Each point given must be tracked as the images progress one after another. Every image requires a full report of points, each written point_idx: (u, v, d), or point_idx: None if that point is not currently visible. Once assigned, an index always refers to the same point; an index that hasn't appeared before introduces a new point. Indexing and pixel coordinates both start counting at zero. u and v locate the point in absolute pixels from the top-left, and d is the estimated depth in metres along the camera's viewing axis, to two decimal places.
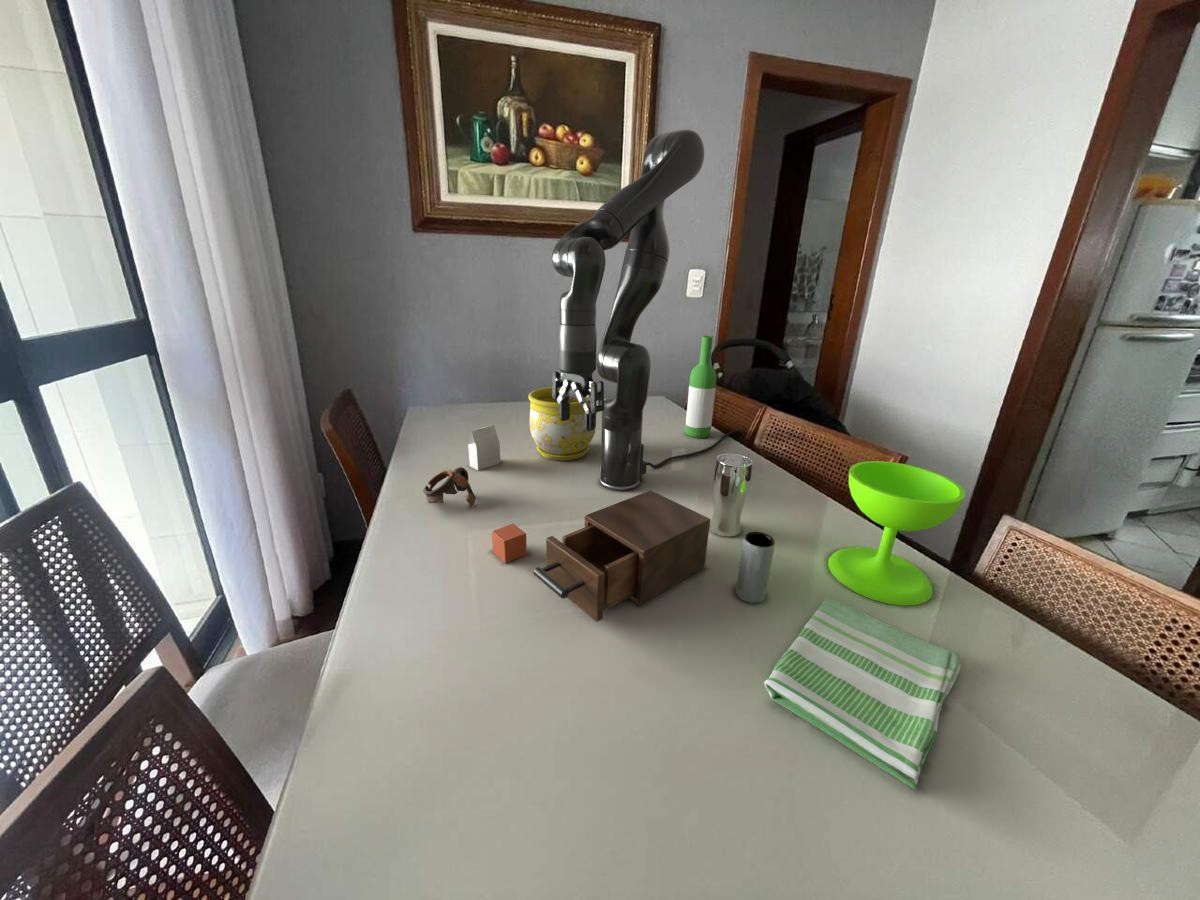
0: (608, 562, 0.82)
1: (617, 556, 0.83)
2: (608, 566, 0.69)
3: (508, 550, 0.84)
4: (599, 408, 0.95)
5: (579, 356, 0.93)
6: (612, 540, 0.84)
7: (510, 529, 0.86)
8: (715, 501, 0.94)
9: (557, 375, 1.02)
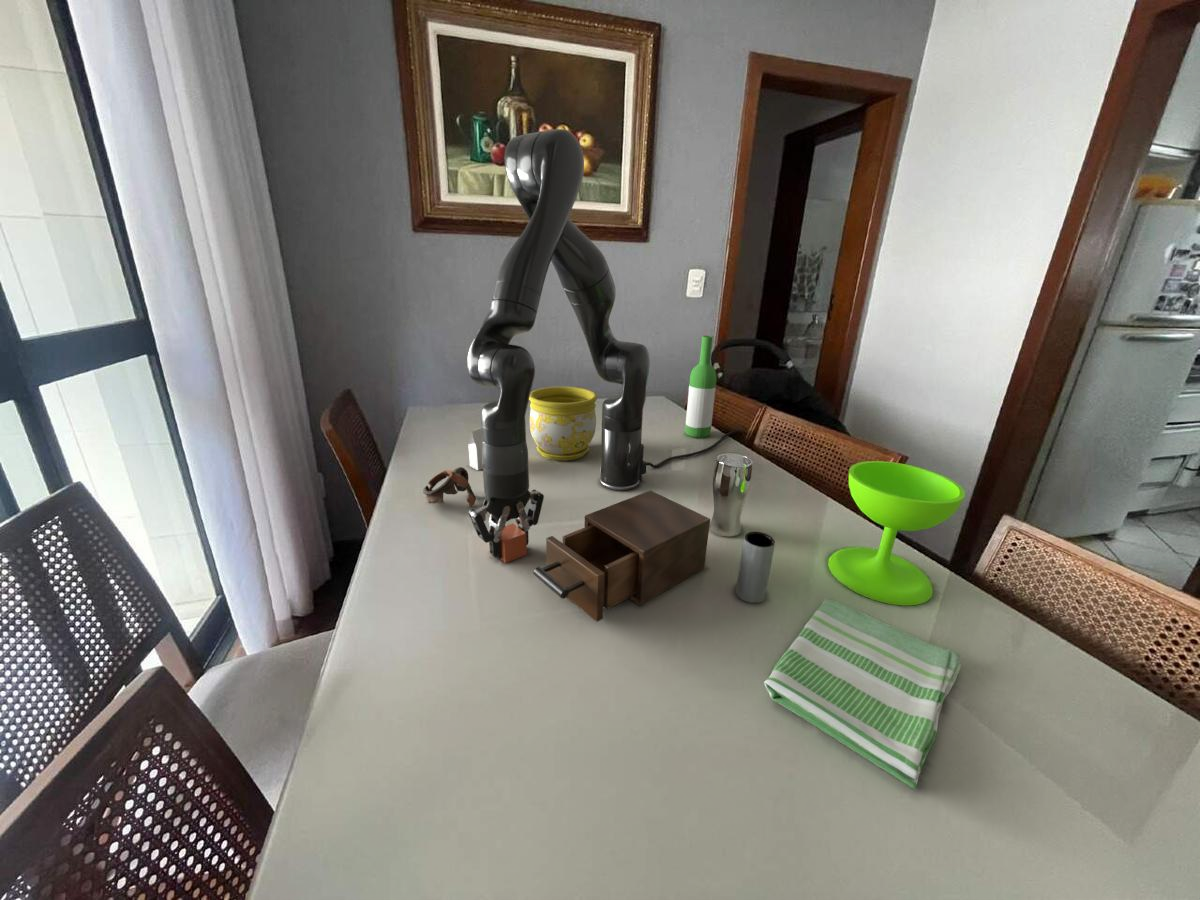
0: (608, 562, 0.82)
1: (617, 556, 0.83)
2: (608, 566, 0.69)
3: (508, 550, 0.84)
4: (481, 537, 0.82)
5: None
6: (612, 540, 0.84)
7: (510, 529, 0.86)
8: (715, 501, 0.94)
9: None
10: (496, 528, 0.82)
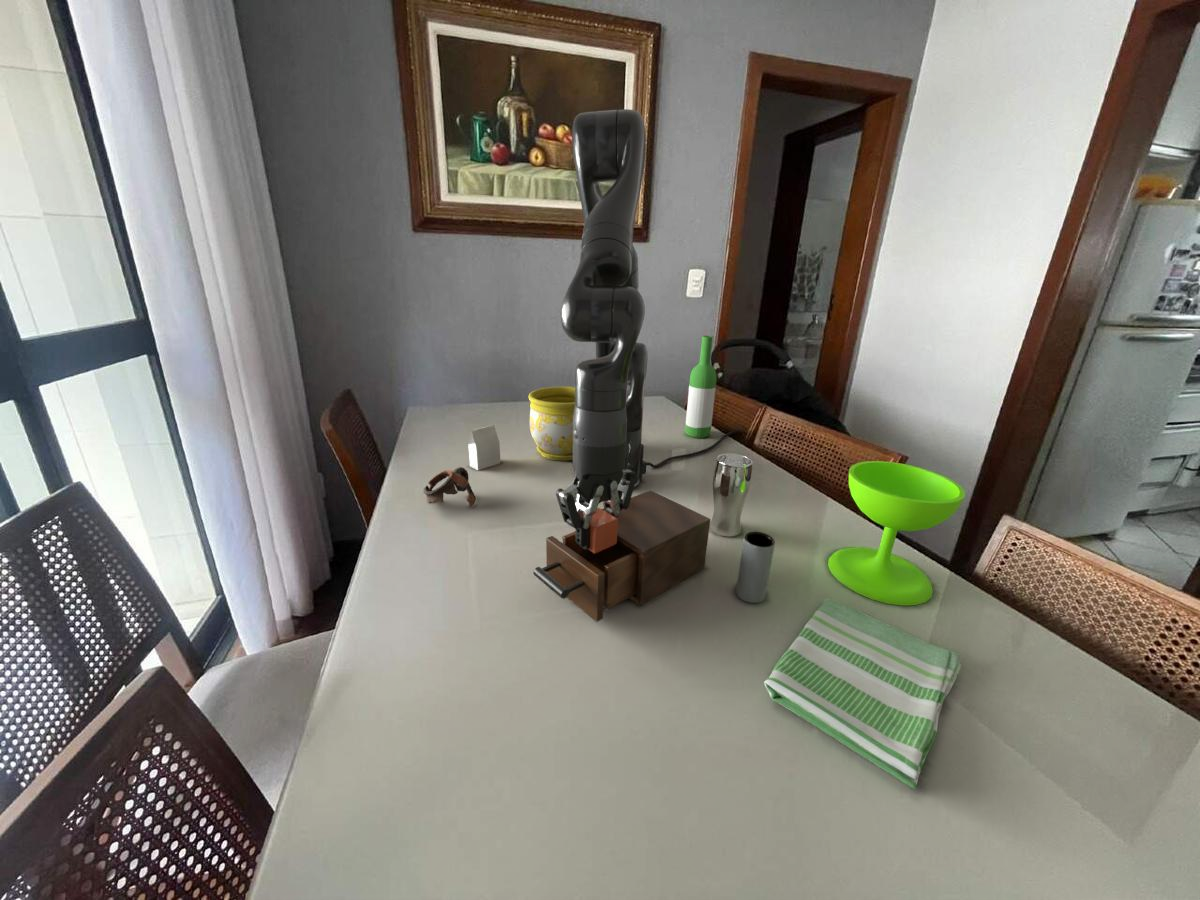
0: (608, 562, 0.82)
1: (617, 556, 0.83)
2: (608, 566, 0.69)
3: (599, 538, 0.71)
4: (569, 523, 0.69)
5: (573, 444, 0.68)
6: None
7: (598, 514, 0.73)
8: (715, 501, 0.94)
9: None
10: (587, 512, 0.69)
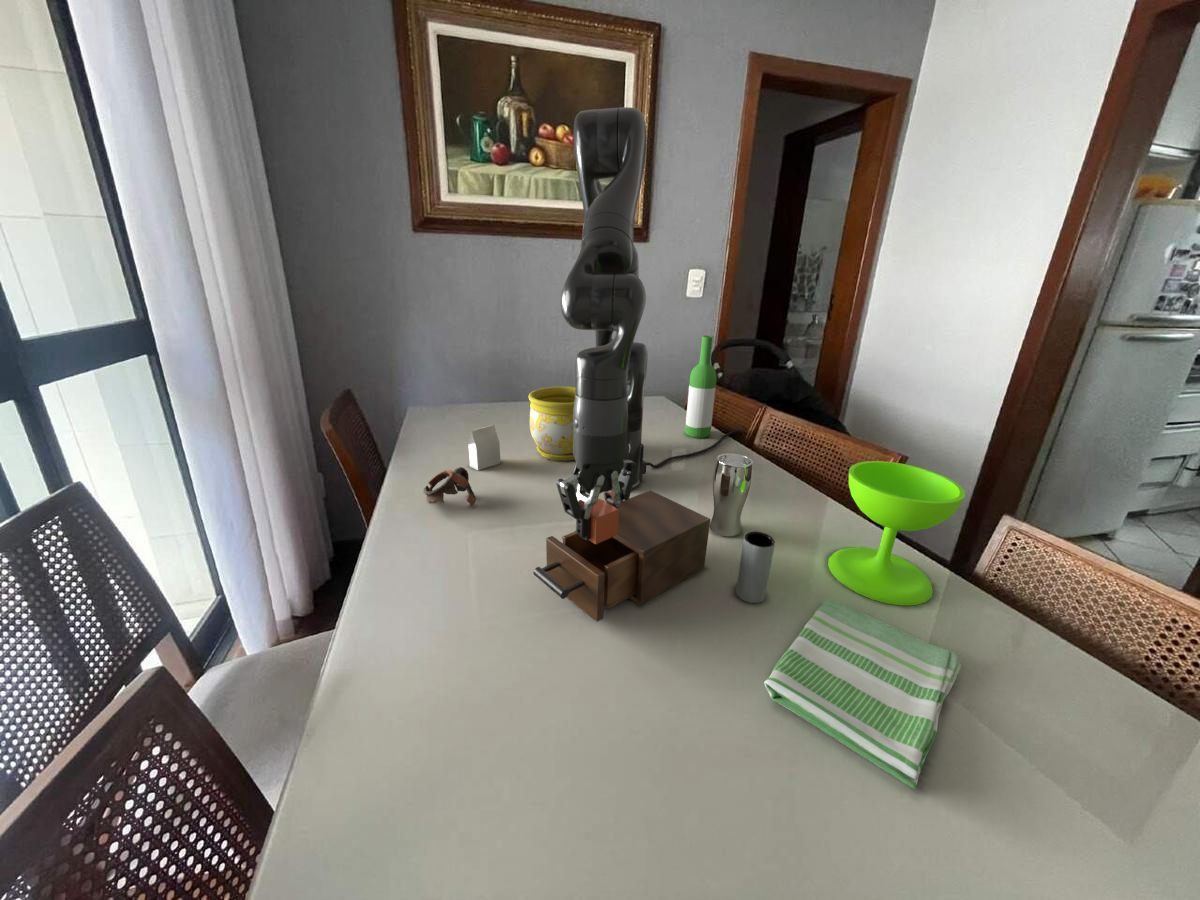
0: (608, 562, 0.82)
1: (617, 556, 0.83)
2: (608, 566, 0.69)
3: (599, 529, 0.70)
4: (569, 513, 0.69)
5: (573, 433, 0.67)
6: (612, 540, 0.84)
7: (598, 505, 0.73)
8: (715, 501, 0.94)
9: None
10: (588, 502, 0.69)
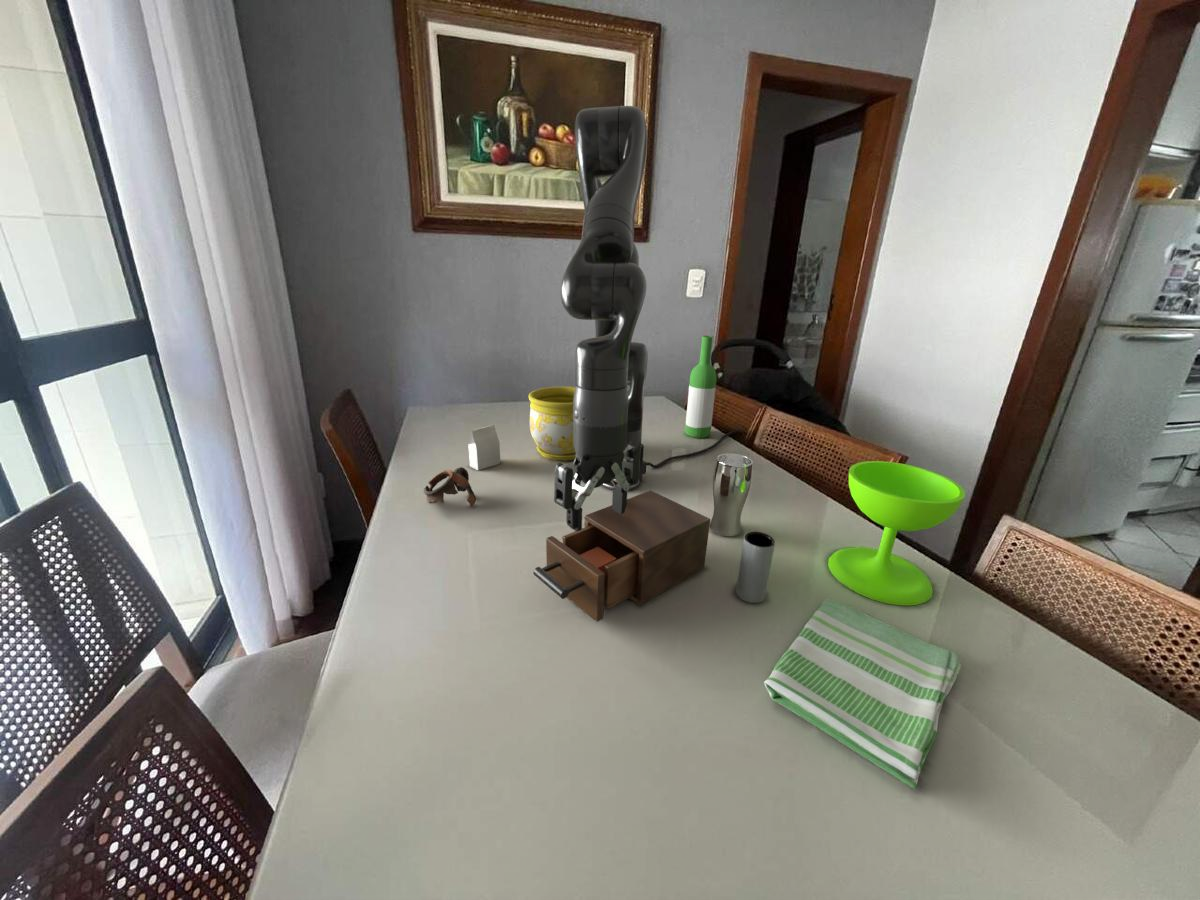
0: None
1: (617, 556, 0.83)
2: (608, 566, 0.69)
3: None
4: (559, 501, 0.67)
5: (573, 425, 0.67)
6: (612, 540, 0.84)
7: (597, 554, 0.76)
8: (715, 501, 0.94)
9: None
10: (582, 491, 0.67)
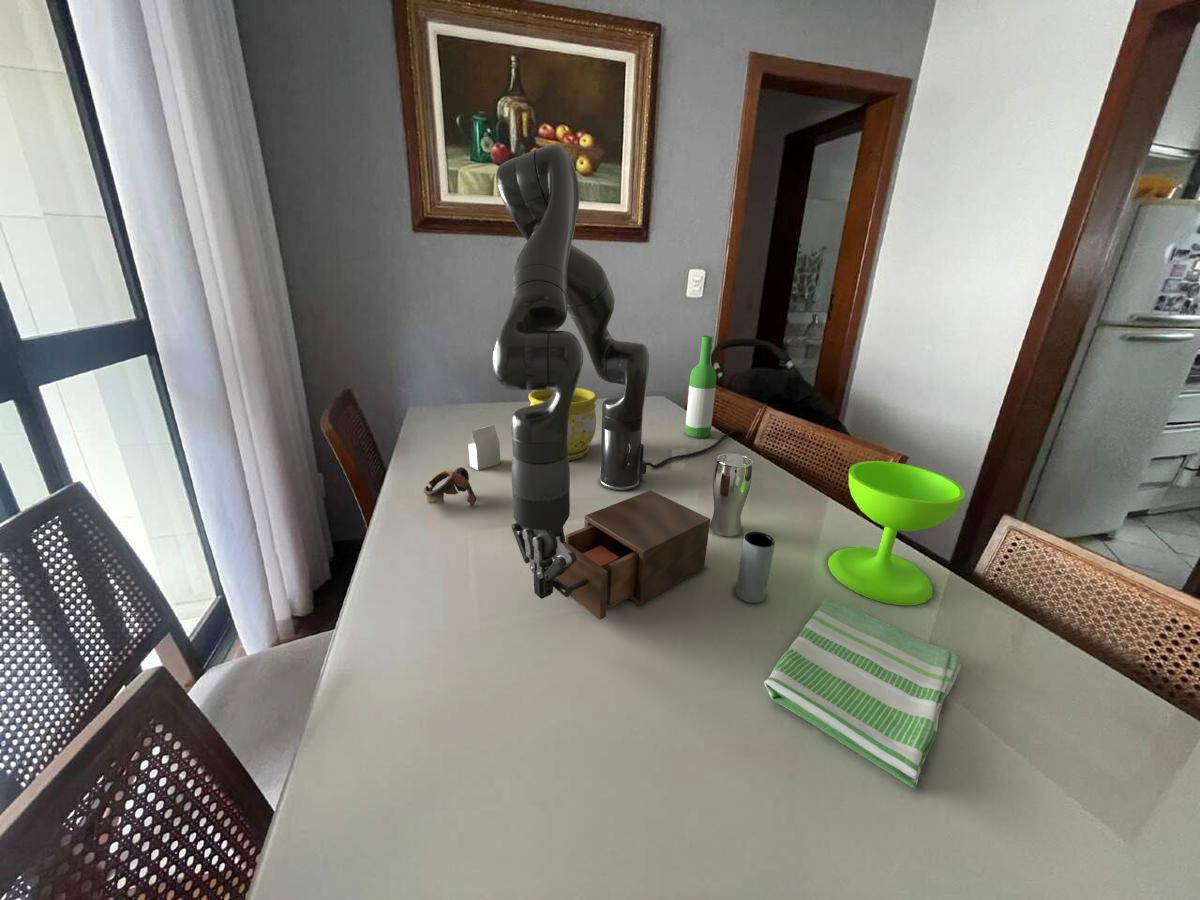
0: None
1: (620, 555, 0.84)
2: (611, 564, 0.70)
3: None
4: (556, 576, 0.66)
5: (542, 506, 0.61)
6: (615, 539, 0.84)
7: (600, 552, 0.76)
8: (715, 501, 0.94)
9: (517, 527, 0.70)
10: None
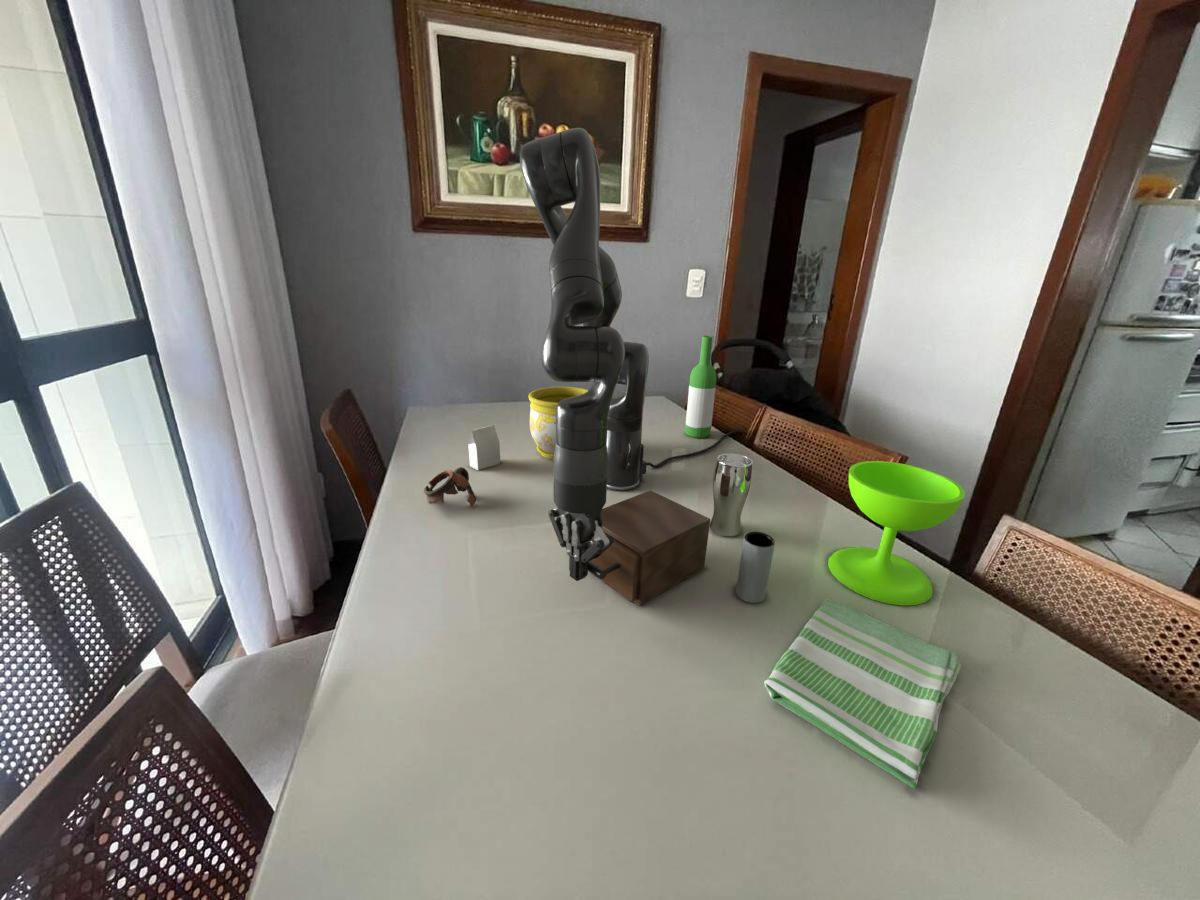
0: None
1: None
2: None
3: None
4: (592, 558, 0.70)
5: (583, 491, 0.65)
6: None
7: None
8: (715, 501, 0.94)
9: (554, 513, 0.74)
10: None
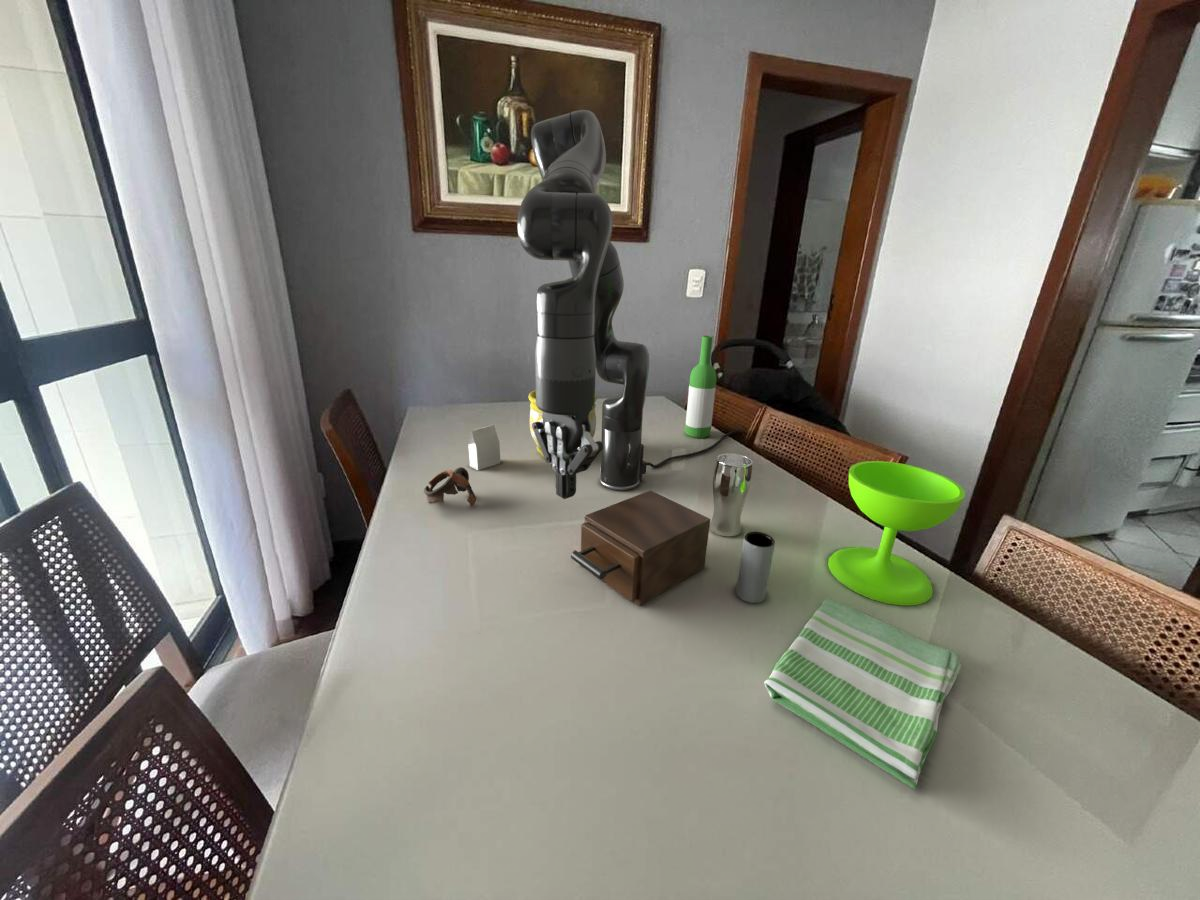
0: None
1: None
2: None
3: None
4: (580, 470, 0.63)
5: (568, 387, 0.58)
6: None
7: None
8: (715, 501, 0.94)
9: (539, 425, 0.67)
10: None
